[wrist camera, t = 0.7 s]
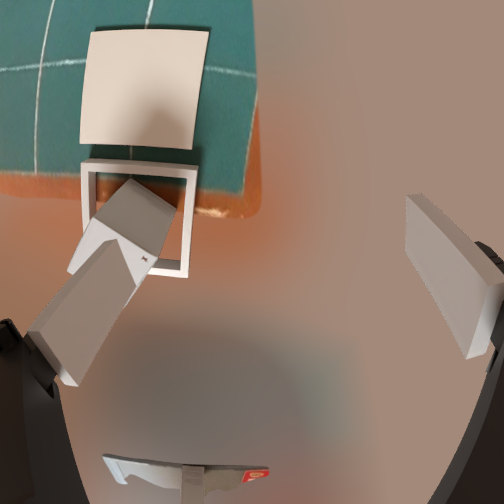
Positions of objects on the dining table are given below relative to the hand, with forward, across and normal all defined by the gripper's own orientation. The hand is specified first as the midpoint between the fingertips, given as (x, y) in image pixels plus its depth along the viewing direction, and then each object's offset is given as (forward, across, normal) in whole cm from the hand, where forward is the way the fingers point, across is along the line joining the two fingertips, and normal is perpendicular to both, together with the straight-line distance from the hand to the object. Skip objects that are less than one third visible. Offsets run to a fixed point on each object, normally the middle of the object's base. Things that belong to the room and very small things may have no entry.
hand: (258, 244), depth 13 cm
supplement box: (+23, -18, -5) cm, 29 cm away
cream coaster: (+23, -13, +10) cm, 29 cm away
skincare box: (+21, -36, -79) cm, 89 cm away
